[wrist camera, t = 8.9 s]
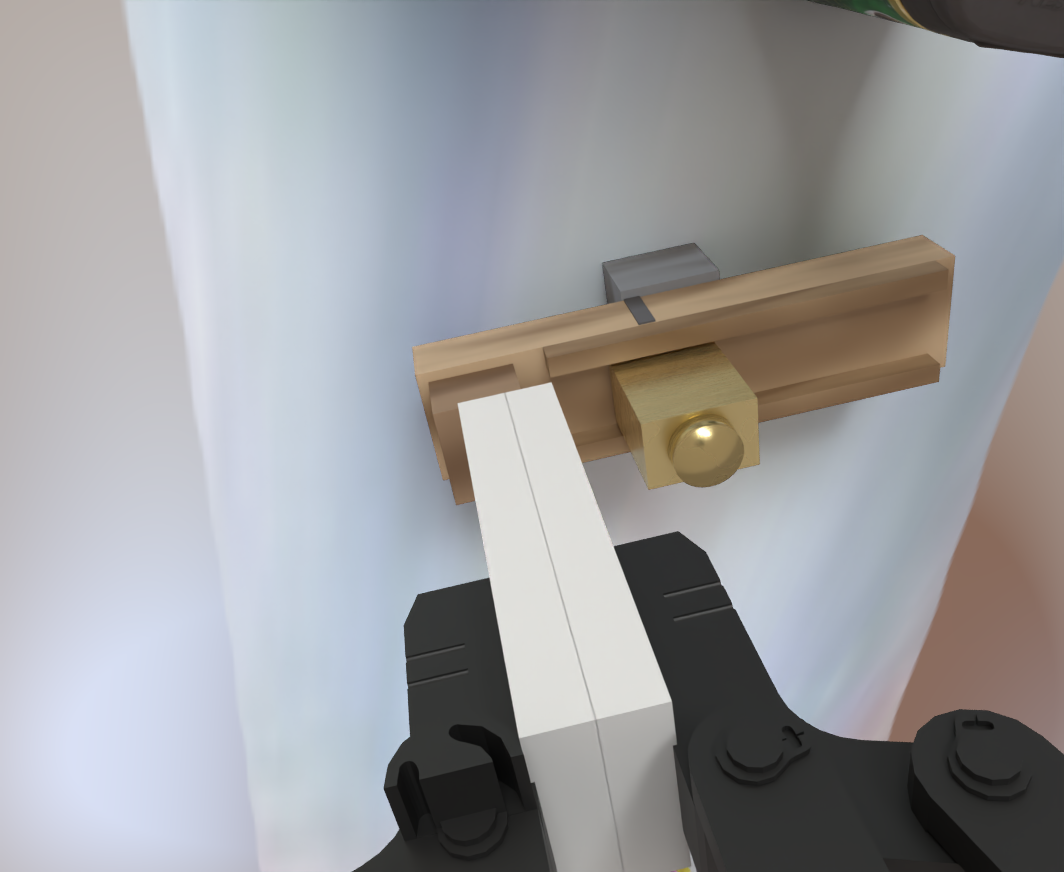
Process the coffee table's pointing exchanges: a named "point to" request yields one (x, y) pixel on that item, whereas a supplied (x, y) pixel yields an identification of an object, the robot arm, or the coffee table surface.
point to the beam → (708, 339)
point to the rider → (686, 416)
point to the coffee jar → (977, 20)
